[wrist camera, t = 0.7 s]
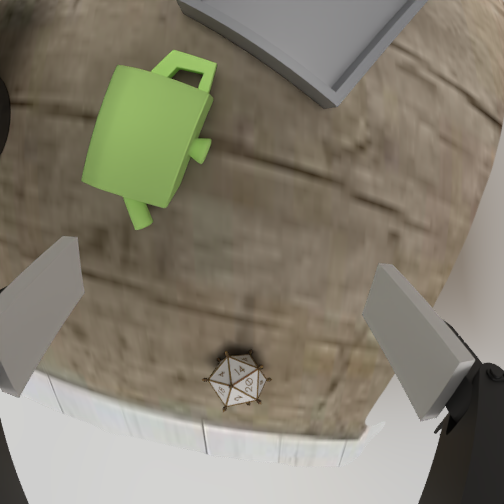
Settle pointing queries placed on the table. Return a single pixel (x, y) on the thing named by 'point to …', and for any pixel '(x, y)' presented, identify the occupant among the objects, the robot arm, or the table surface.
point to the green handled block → (149, 133)
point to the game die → (237, 380)
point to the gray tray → (309, 37)
